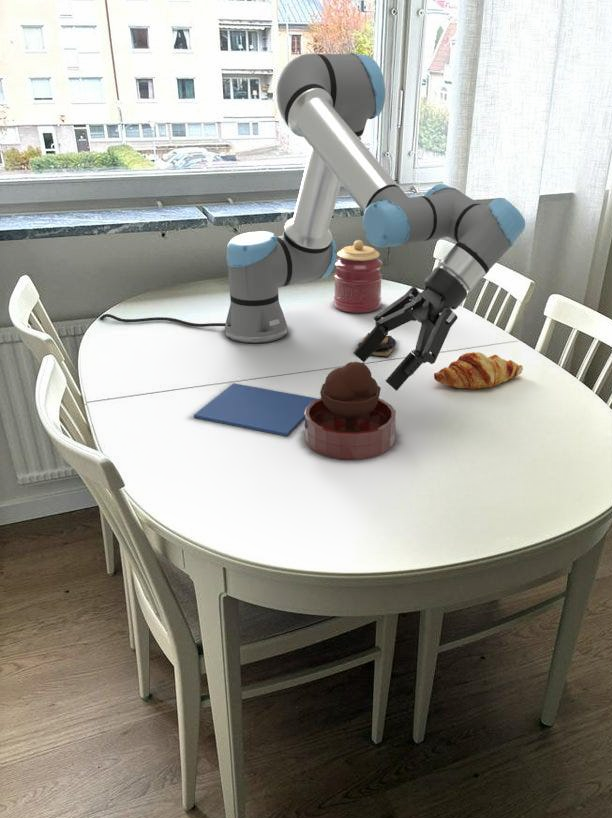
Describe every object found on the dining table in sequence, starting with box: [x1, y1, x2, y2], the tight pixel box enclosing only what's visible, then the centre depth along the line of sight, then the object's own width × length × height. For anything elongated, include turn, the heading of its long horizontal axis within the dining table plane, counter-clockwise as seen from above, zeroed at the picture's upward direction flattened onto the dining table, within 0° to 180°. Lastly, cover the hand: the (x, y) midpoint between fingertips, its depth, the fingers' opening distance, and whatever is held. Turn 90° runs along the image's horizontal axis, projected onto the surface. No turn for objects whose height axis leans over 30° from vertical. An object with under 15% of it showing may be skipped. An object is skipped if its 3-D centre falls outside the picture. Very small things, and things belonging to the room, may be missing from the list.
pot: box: [304, 397, 397, 461], centre depth 134 cm, size 17×17×5 cm
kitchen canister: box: [333, 239, 383, 314], centre depth 195 cm, size 13×13×18 cm
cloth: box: [193, 383, 318, 437], centre depth 145 cm, size 20×16×1 cm
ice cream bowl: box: [319, 361, 381, 432], centre depth 132 cm, size 11×11×15 cm
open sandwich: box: [357, 332, 397, 357], centre depth 173 cm, size 11×8×4 cm
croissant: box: [433, 351, 524, 390], centre depth 157 cm, size 21×10×8 cm, turn 110°
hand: (373, 371), depth 131 cm, fingers open, 13 cm apart
